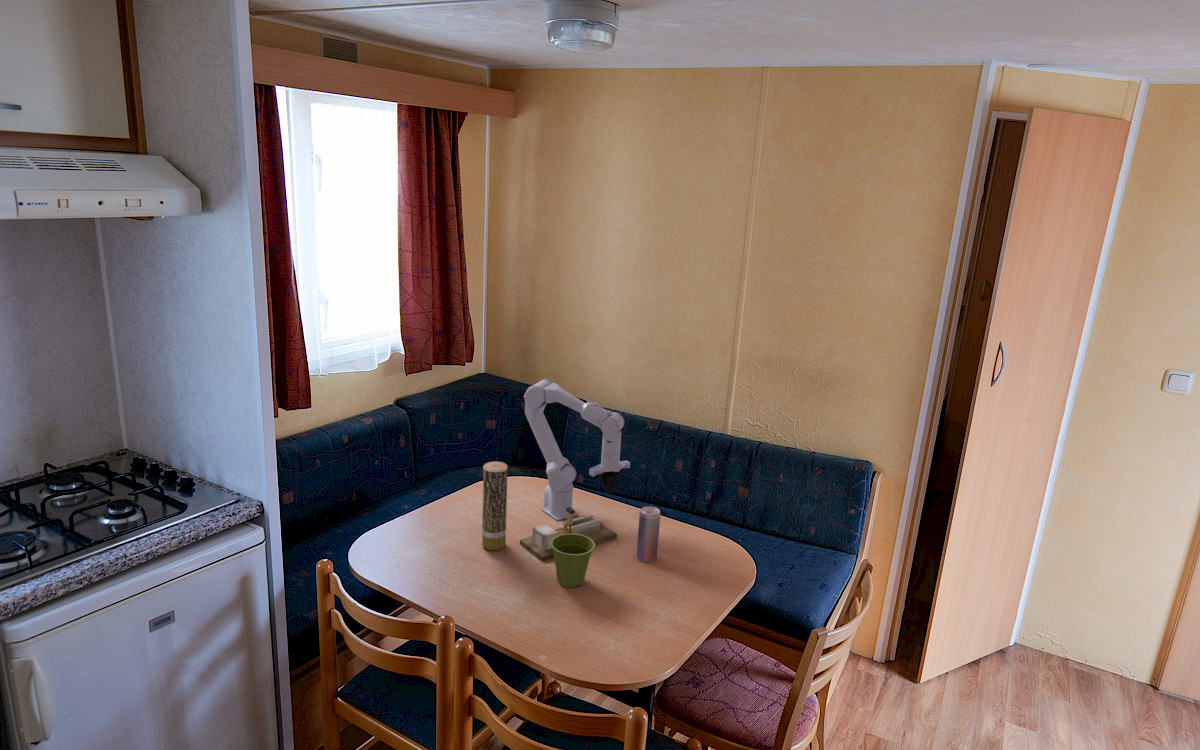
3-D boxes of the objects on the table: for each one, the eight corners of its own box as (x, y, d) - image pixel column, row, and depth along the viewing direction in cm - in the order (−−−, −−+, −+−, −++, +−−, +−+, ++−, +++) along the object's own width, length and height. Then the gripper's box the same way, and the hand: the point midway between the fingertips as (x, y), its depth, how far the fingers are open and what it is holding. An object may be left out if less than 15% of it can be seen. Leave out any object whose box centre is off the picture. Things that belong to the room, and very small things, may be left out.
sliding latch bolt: (538, 541, 218) (539, 514, 216) (569, 532, 225) (570, 506, 223) (543, 545, 216) (544, 518, 214) (574, 536, 223) (576, 510, 220)
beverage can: (632, 559, 215) (636, 511, 211) (641, 551, 220) (645, 504, 216) (651, 565, 212) (655, 516, 209) (660, 556, 218) (664, 509, 214)
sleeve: (563, 533, 225) (563, 521, 224) (589, 526, 231) (590, 514, 230) (572, 540, 221) (573, 528, 220) (599, 532, 227) (600, 520, 226)
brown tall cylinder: (507, 541, 221) (509, 462, 215) (502, 552, 215) (504, 471, 208) (485, 539, 222) (486, 460, 215) (479, 550, 215) (480, 469, 209)
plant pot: (554, 595, 195) (555, 556, 192) (545, 572, 206) (546, 534, 203) (597, 590, 198) (600, 552, 195) (586, 568, 209) (588, 531, 206)
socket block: (532, 541, 219) (532, 527, 218) (545, 537, 222) (545, 523, 221) (544, 550, 214) (544, 536, 213) (557, 546, 217) (557, 532, 216)
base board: (519, 544, 220) (519, 539, 220) (593, 523, 236) (593, 518, 236) (541, 561, 211) (542, 556, 211) (616, 538, 227) (616, 534, 227)
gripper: (599, 460, 223) (597, 502, 227) (637, 452, 232) (634, 492, 235) (586, 452, 229) (583, 493, 232) (623, 445, 237) (620, 484, 241)
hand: (608, 492), depth 234 cm, fingers closed
